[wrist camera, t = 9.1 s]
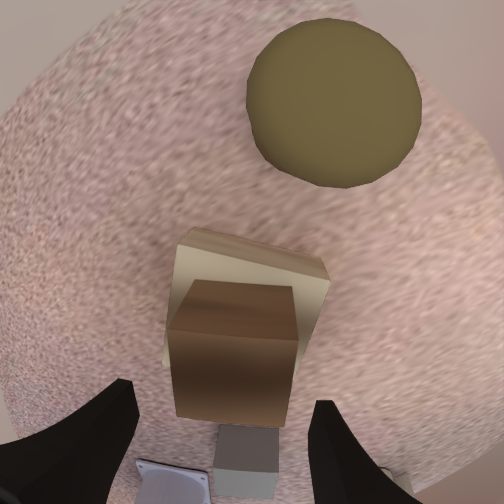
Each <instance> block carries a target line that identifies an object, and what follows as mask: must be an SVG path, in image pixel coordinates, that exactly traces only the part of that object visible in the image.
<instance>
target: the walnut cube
mask: <svg viewBox="0 0 504 504" xmlns="http://www.w3.org/2000/svg"><path fill="white" fill-rule="evenodd" d="M167 339H168V349H169V359H170V368H171V377H172V385H173V393H174V400H175V407H176V414H177V417H183V418H190V419H196V420H204V421H212V422H220V423H229V424H240V425H252V426H267V427H284V425H285V420H286V415H287V409H288V404H289V398H290V392H291V387H292V381H293V375H294V369H295V362H296V356H297V350H298V343H299V338H298V329H297V321H296V313H295V305H294V297H293V290H292V286H278V285H264V284H250V283H236V282H223V281H211V280H199V279H195V280H194V282H193V284H192V285H191V287H190V289H189V290H188V292H187V294H186V296H185V297H184V299H183V301H182V303H181V304H180V306H179V308H178V310H177V312H176V313H175V315H174V317H173V319H172V320H171V322H170V324H169V326H168V328H167Z"/></svg>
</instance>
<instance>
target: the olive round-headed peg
mask: <svg viewBox="0 0 504 504" xmlns="http://www.w3.org/2000/svg"><path fill="white" fill-rule="evenodd" d="M246 109H247V112H248V116H249V119H250V122H251V126H252V133H253V136H254V140H255V143H256V146H257V148H258V149H259V151H260V152H261V154H262V155H263V157H264V158H265V160H267V161H268V162H269V163H270V164H272V165H273V166H274V167H276V168H277V169H278V170H280V171H283V172H285V173H288V174H290V175H292V176H295V177H297V178H300V179H302V180H305V181H307V182H310V183H312V184H315V185H317V186H322V187H334V188H345V189H347V188H351V187H355V186H359V185H364V184H368V183H372V182H374V181H376V180H377V179H379V178H380V177H382V176H384V175H385V174H387V173H388V172H390V171H392V170H393V169H395V168H397V167H398V166H399V164H400V163H401V162H402V161H403V159H404V158H405V157H406V156H407V154H408V153H409V152H410V151H411V149H412V148H413V146H414V143H415V141H416V138H417V135H418V132H419V129H420V126H421V117H422V98H421V94H420V91H419V87H418V84H417V81H416V77H415V74H414V72H413V71H412V69H411V68H410V66H409V65H408V63H407V61H406V60H405V58H404V57H403V55H402V54H401V52H400V51H399V50H398V49H397V48H395V47H394V46H393V45H392V44H391V43H390V42H389V41H387V40H386V39H385V38H384V37H383V36H382V35H380V34H379V33H377V32H375V31H373V30H371V29H369V28H367V27H364V26H362V25H360V24H358V23H356V22H351V21H345V20H339V19H331V18H324V19H317V20H311V21H305V22H300V23H298V24H296V25H294V26H292V27H291V28H289V29H287V30H285V31H283V32H281V33H279V34H278V35H277V36H276V37H275V38H274V39H273V40H272V41H271V42H270V43H269V44H268V45H267V46H266V47H265V48H264V49H263V51H262V52H261V53H260V54H259V55H258V56H257V58H256V60H255V63H254V65H253V68H252V70H251V73H250V75H249V77H248V80H247V97H246Z"/></svg>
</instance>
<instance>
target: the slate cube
mask: <svg viewBox="0 0 504 504" xmlns="http://www.w3.org/2000/svg"><path fill="white" fill-rule="evenodd" d="M278 473H279V428H261V427H246V426H234V425H224V424H221V425H220V431H219V436H218V441H217V447H216V452H215V457H214V463H213V479H214V489H215V495H219V496H228V497H239V498H252V499H273V496H274V492H275V487H276V483H277V478H278Z"/></svg>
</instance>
